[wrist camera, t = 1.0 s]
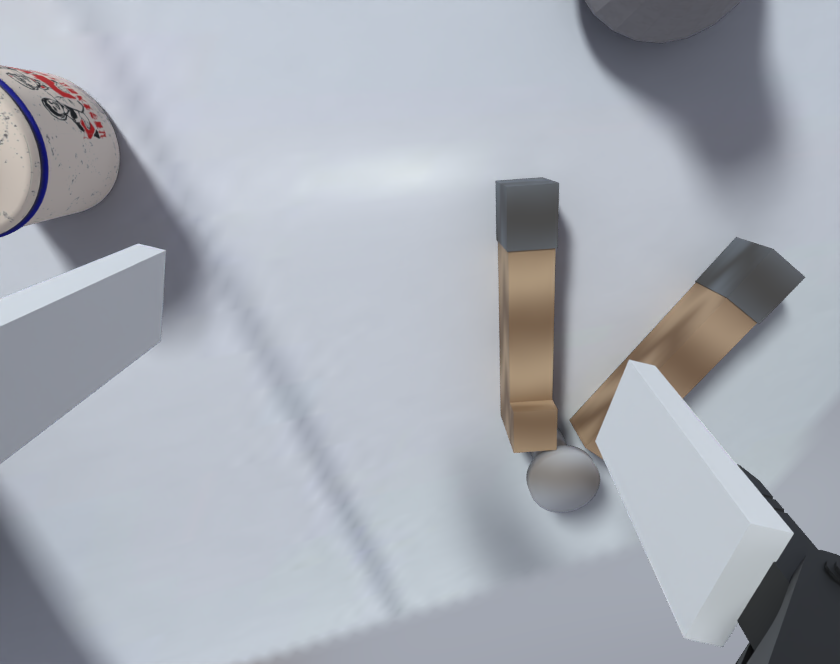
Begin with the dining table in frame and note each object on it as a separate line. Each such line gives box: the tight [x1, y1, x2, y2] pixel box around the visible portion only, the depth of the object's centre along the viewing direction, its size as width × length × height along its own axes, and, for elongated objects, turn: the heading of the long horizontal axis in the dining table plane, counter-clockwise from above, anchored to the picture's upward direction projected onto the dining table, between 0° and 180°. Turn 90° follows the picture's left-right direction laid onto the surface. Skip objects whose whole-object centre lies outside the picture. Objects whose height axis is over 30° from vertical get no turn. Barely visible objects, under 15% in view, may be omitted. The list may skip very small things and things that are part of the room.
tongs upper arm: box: [496, 177, 600, 513], centre depth 38 cm, size 23×6×6 cm, turn 4°
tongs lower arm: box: [531, 237, 805, 459], centre depth 40 cm, size 22×5×4 cm, turn 144°
